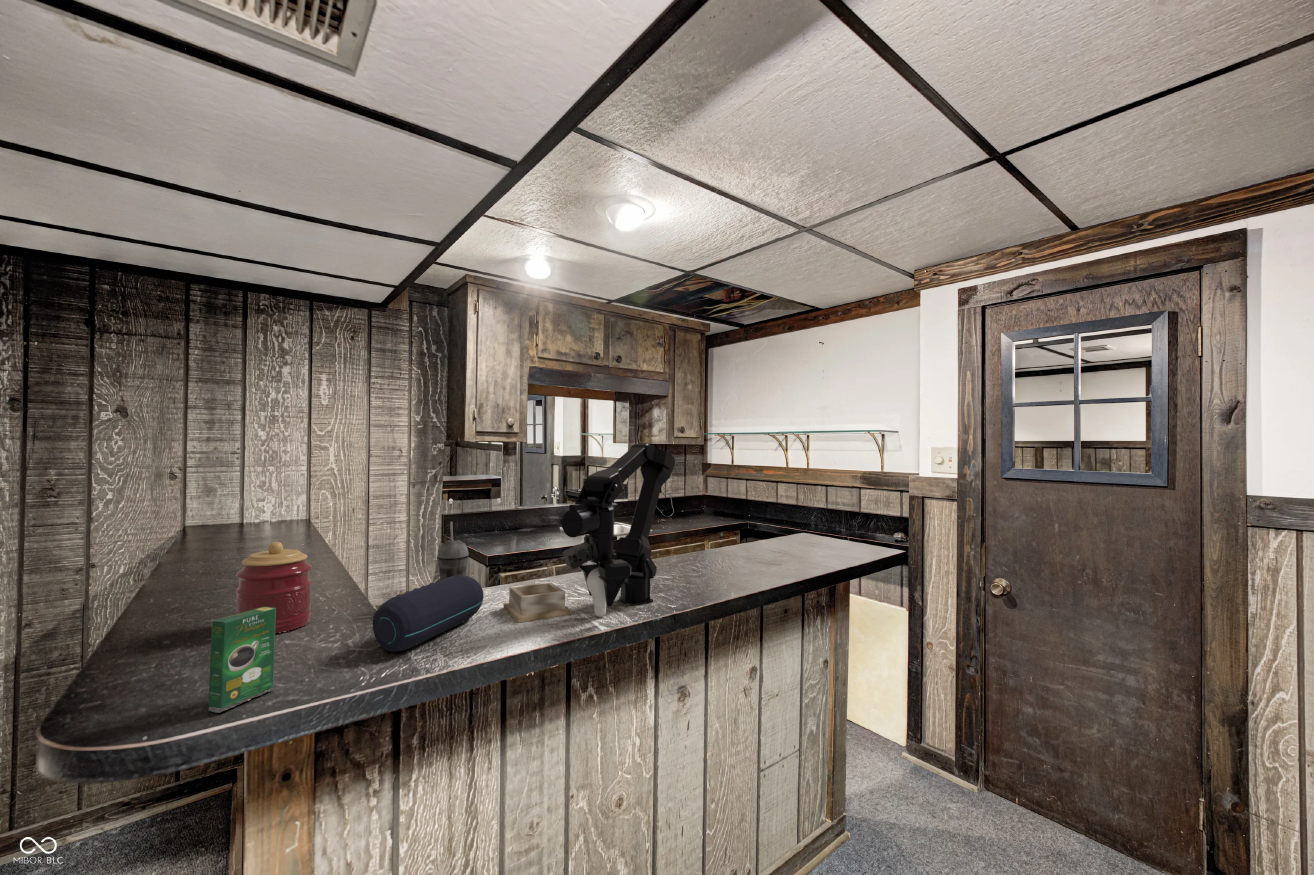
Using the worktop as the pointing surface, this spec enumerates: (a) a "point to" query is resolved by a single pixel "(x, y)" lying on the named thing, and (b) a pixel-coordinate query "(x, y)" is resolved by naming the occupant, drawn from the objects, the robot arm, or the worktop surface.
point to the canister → (276, 585)
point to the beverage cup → (452, 557)
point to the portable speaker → (426, 612)
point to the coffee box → (241, 656)
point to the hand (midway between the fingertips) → (600, 600)
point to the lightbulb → (597, 592)
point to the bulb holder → (536, 602)
